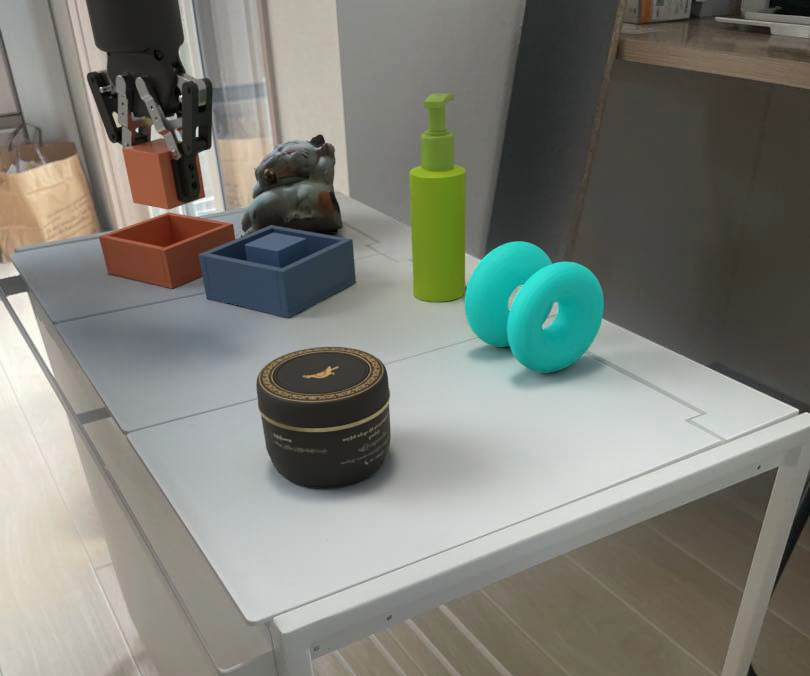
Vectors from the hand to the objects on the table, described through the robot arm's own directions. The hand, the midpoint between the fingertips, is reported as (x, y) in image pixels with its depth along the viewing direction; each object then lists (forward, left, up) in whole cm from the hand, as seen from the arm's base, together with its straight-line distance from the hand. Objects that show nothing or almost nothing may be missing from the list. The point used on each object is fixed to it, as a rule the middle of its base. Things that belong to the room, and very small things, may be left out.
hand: (169, 195), depth 80 cm
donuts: (+33, +12, -14) cm, 38 cm away
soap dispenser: (+16, +23, -14) cm, 32 cm away
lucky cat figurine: (-13, +32, -14) cm, 37 cm away
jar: (+28, -13, -14) cm, 34 cm away
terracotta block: (0, 0, 0) cm, 0 cm away
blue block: (-1, +15, -13) cm, 20 cm away
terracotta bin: (-19, +15, -14) cm, 28 cm away
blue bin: (-1, +15, -14) cm, 20 cm away
